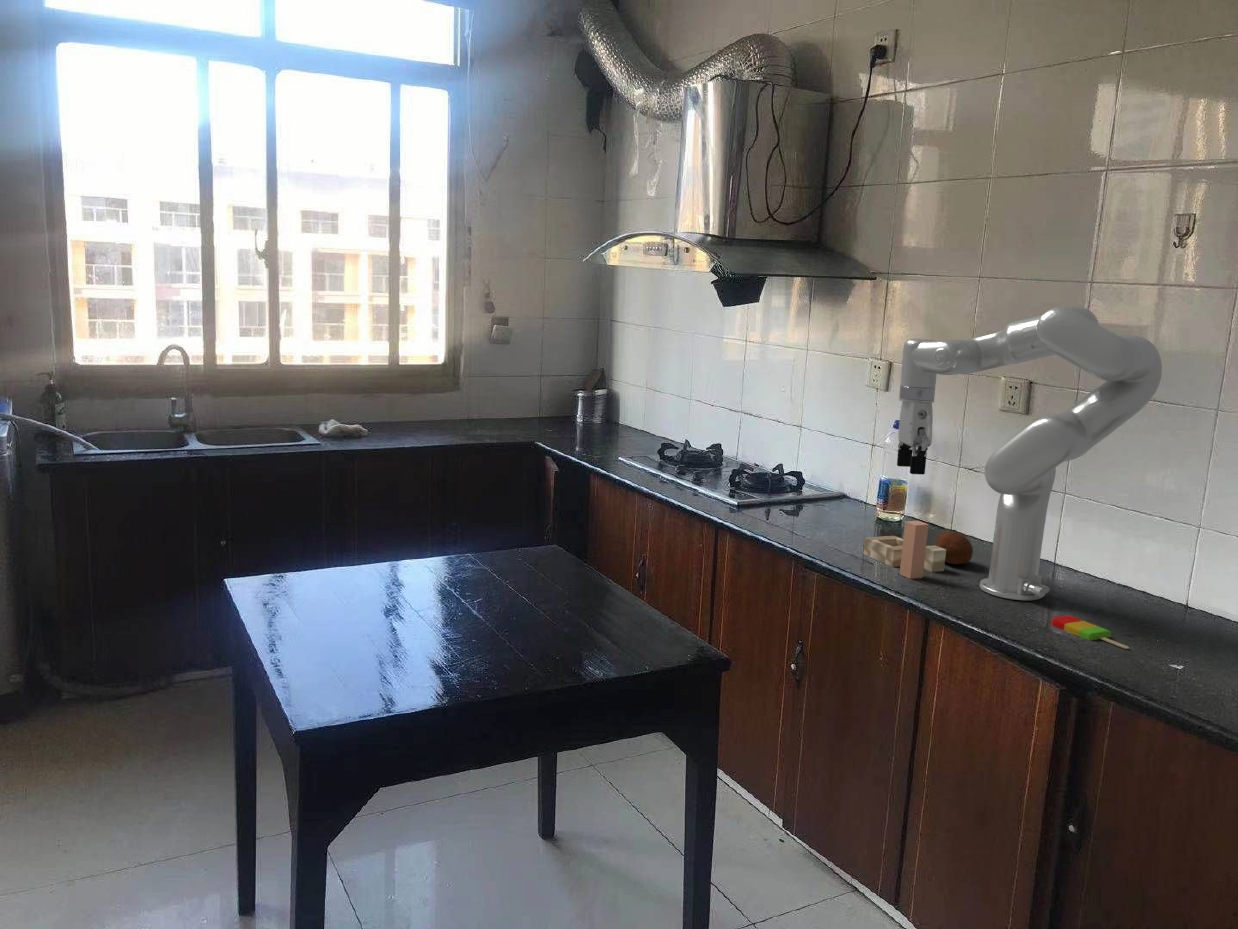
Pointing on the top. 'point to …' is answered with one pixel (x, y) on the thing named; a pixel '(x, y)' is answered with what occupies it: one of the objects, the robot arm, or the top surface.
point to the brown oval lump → (955, 547)
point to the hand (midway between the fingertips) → (910, 470)
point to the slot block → (884, 549)
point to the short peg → (934, 558)
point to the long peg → (914, 549)
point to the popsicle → (1084, 629)
